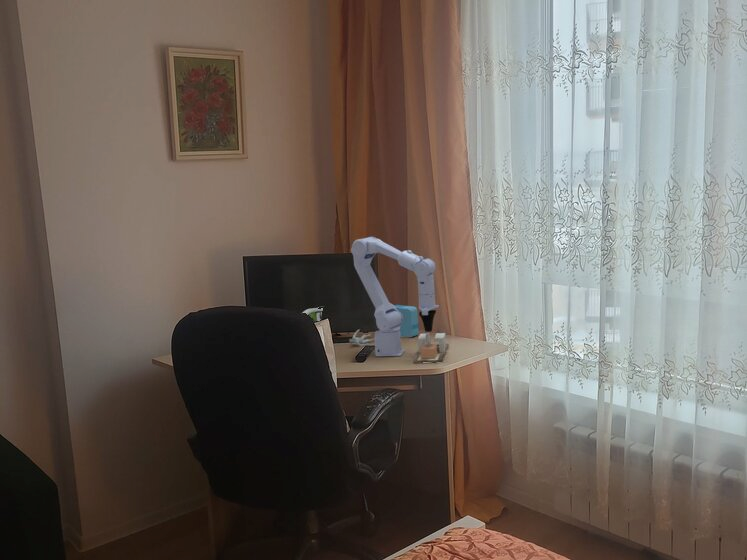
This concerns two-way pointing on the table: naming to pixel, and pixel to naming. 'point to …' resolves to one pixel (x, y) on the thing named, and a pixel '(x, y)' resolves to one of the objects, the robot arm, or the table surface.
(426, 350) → the sled block
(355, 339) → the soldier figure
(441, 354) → the walnut board
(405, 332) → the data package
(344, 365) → the table surface
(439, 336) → the grey tunnel
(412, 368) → the table surface
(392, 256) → the robot arm
